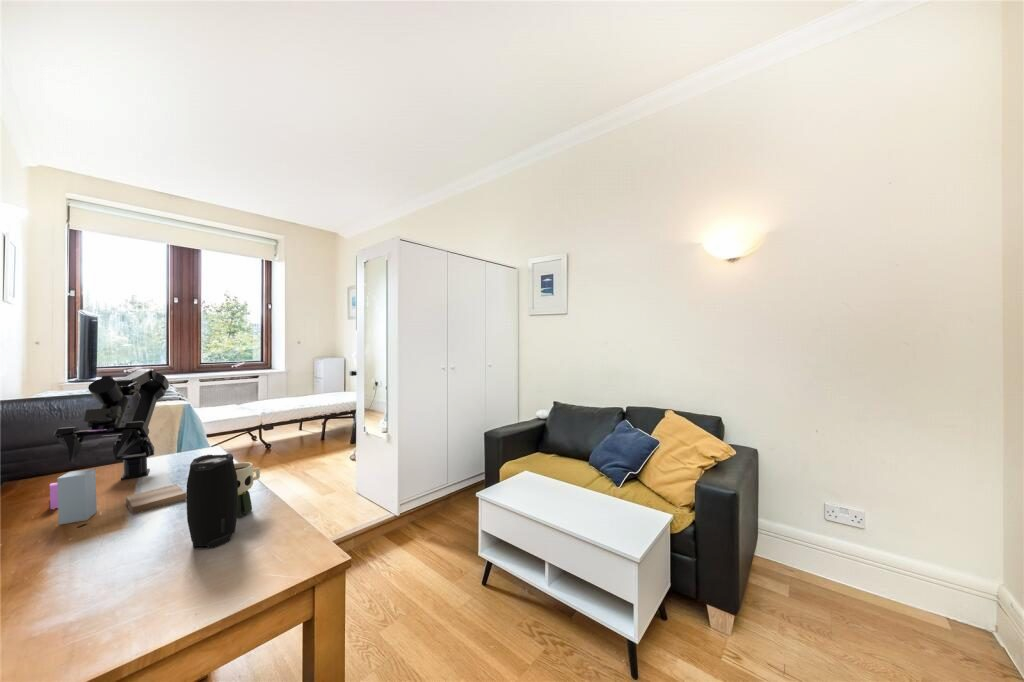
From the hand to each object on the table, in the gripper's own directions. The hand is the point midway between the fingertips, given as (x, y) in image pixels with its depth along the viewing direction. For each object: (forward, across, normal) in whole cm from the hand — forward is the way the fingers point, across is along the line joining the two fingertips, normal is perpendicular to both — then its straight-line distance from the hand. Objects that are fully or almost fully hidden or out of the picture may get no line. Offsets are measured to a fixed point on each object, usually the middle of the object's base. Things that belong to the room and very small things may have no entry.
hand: (93, 459), depth 105 cm
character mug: (+28, +37, -9) cm, 47 cm away
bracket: (+3, -10, +16) cm, 19 cm away
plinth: (+13, +15, +6) cm, 20 cm away
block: (+15, 0, +4) cm, 16 cm away
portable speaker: (+37, +35, -18) cm, 54 cm away
